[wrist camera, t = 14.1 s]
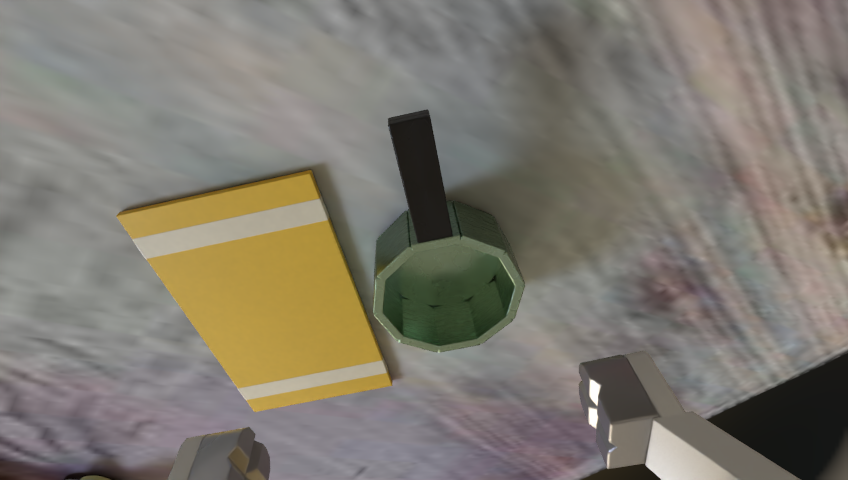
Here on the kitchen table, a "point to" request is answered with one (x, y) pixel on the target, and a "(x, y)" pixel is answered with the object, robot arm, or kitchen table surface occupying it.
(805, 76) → the kitchen table surface
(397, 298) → the green saucepan
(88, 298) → the kitchen table surface
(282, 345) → the towel
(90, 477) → the pacifier
